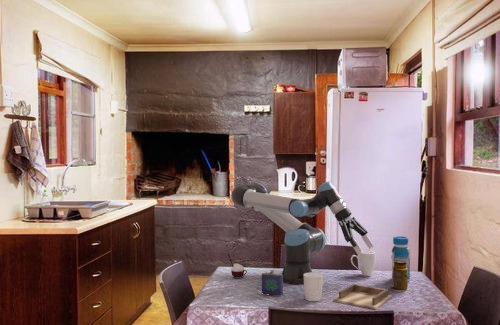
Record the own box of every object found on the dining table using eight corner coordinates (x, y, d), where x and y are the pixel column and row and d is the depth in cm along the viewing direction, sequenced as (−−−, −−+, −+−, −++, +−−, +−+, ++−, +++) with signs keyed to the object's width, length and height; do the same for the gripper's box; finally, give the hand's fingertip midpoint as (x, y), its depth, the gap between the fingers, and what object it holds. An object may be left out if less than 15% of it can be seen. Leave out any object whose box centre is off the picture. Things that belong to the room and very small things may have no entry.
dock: (333, 301, 184) (333, 292, 184) (351, 290, 199) (351, 282, 199) (376, 309, 174) (376, 300, 174) (392, 297, 188) (392, 289, 188)
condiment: (412, 289, 200) (411, 261, 200) (399, 292, 195) (399, 264, 195) (398, 285, 206) (398, 258, 206) (385, 288, 201) (385, 261, 201)
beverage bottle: (400, 282, 209) (399, 239, 209) (387, 278, 217) (387, 236, 217) (414, 280, 213) (414, 238, 213) (401, 276, 221) (401, 235, 220)
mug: (372, 272, 229) (372, 249, 228) (377, 276, 220) (377, 253, 220) (348, 273, 228) (348, 250, 228) (353, 277, 220) (353, 253, 220)
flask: (283, 294, 194) (283, 269, 194) (282, 296, 191) (281, 271, 191) (262, 293, 196) (262, 268, 196) (260, 295, 194) (260, 270, 193)
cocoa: (247, 276, 225) (248, 252, 225) (245, 279, 219) (246, 254, 219) (228, 275, 227) (229, 251, 227) (225, 278, 220) (226, 253, 221)
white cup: (302, 296, 191) (301, 272, 191) (320, 295, 192) (320, 272, 192) (305, 302, 183) (305, 277, 183) (325, 301, 184) (324, 276, 184)
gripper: (334, 209, 205) (361, 250, 198) (357, 204, 225) (382, 241, 218) (322, 218, 209) (348, 259, 202) (346, 212, 229) (370, 249, 222)
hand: (366, 250), depth 210 cm, fingers open, 13 cm apart
